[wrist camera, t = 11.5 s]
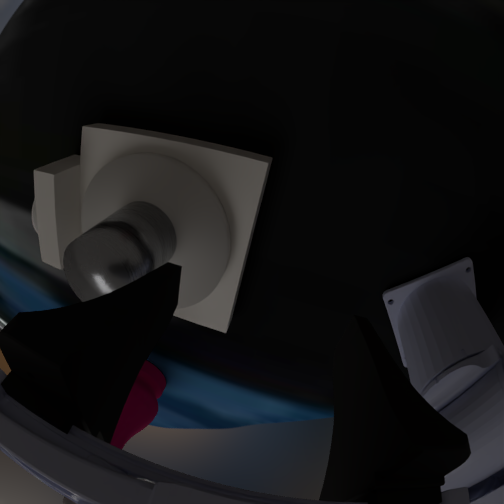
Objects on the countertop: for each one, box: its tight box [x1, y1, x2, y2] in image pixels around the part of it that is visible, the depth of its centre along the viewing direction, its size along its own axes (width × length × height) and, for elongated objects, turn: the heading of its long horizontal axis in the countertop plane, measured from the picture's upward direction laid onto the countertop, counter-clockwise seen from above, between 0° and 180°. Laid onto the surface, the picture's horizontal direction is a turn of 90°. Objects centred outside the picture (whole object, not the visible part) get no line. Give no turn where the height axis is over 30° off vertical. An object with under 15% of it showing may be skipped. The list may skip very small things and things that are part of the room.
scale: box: [32, 123, 273, 333], centre depth 21 cm, size 17×14×5 cm
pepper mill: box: [63, 360, 166, 504], centre depth 25 cm, size 7×7×20 cm
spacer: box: [63, 201, 177, 302], centre depth 18 cm, size 5×5×6 cm
